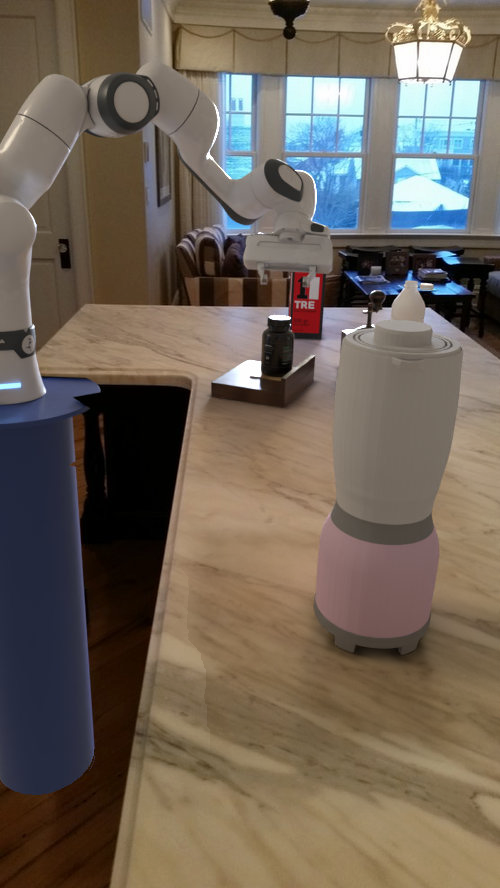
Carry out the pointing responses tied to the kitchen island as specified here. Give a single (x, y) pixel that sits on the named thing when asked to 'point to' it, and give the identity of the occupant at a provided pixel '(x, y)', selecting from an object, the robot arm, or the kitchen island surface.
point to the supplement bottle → (277, 347)
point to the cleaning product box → (306, 306)
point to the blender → (386, 484)
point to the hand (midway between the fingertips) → (284, 284)
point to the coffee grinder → (369, 311)
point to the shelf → (264, 383)
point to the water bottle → (410, 303)
